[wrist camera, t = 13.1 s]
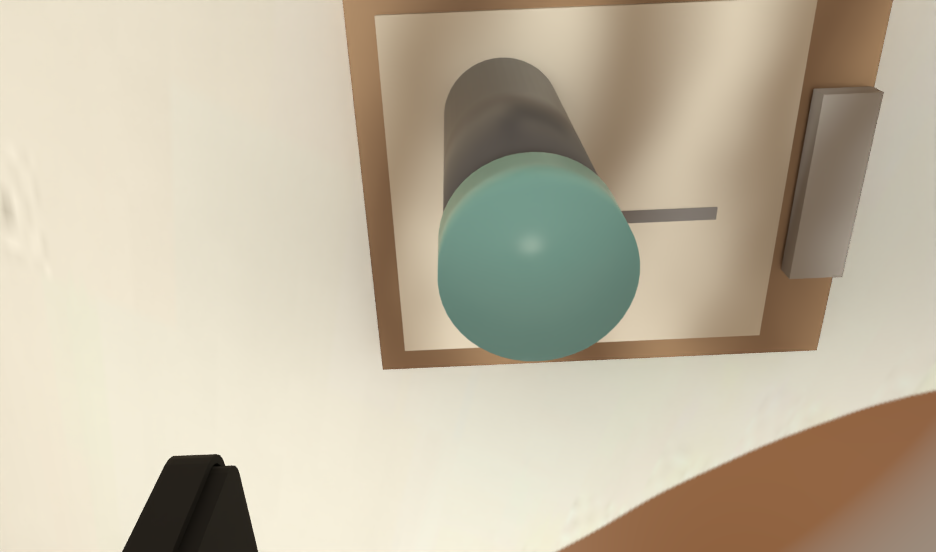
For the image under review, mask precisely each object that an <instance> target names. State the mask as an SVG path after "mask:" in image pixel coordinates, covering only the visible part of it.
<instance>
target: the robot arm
mask: <svg viewBox="0 0 936 552" xmlns="http://www.w3.org/2000/svg"><path fill="white" fill-rule="evenodd" d="M122 552H258V550H257V545H256V541H255V537H254V533H253V529H252V524H251V520H250V516H249V512H248V508H247V503H246V499H245V495H244V491H243V487H242V482H241V478H240V474H239V471H238V469H237V467H236V466H225V464H224V461H223V459H222V457H221V456H220V455H217V454H213V455H186V456H173V457H171V458H170V459H169V460H168V461H167V463H166V464H165V466H164V468H163V470H162V472H161V474H160V476H159V478H158V480H157V482H156V484H155V486H154V488H153V490H152V492H151V494H150V496H149V499H148V501H147V503H146V505H145V507H144V509H143V511H142V513H141V515H140V517H139V519H138V521H137V523H136V525H135V527H134V529H133V531H132V533H131V535H130V537H129V539H128V541H127V543H126V545H125V547H124V549H123V551H122Z"/></svg>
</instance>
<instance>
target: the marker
mask: <svg viewBox="0 0 936 552" xmlns="http://www.w3.org/2000/svg"><path fill="white" fill-rule="evenodd" d="M639 276H640V257H639V250H638V246H637V243H636V240H635V237H634V235H633V233H632V231H631V229H630V227H629V225H628V223H627V221H626V219H625V217H624V215H623V213H622V211H621V209H620V208H619V206H618V204H617V202H616V200H615V198H614V196H613V194H612V193H611V191H610V190H609V188H608V187H607V185H606V184H605V183H604V182H603V181H602V180H601V178H600V177H599V176H598V175H597V173H596V171H595V169H594V167H593V165H592V163H591V161H590V159H589V157H588V155H587V153H586V151H585V149H584V147H583V145H582V143H581V141H580V139H579V137H578V135H577V133H576V131H575V129H574V127H573V125H572V123H571V121H570V119H569V117H568V115H567V113H566V111H565V109H564V107H563V105H562V103H561V101H560V99H559V97H558V95H557V93H556V91H555V89H554V88H553V86H552V84H551V82H550V81H549V80H548V78H547V77H546V76H545V75H544V74H543V73H542V72H541V71H540V70H539V69H537V68H536V67H534V66H533V65H531V64H529V63H527V62H525V61H522V60H518V59H514V58H493V59H489V60H485V61H482V62H480V63H478V64H476V65H474V66H472V67H471V68H469V69H468V70H466V71H465V72H464V73H463V74H462V75H461V76H460V77H459V78H458V79H457V81H456V82H455V83H454V85H453V86H452V88H451V90H450V92H449V94H448V97H447V100H446V103H445V110H444V176H443V215H442V218H441V221H440V227H439V234H438V289H439V295H440V298H441V301H442V305H443V307H444V309H445V311H446V313H447V315H448V317H449V318H450V320H451V321H452V323H453V324H454V326H455V327H456V328H457V329H458V330H459V331H460V333H461V334H463V335H464V336H465V337H466V338H467V339H468V340H469V341H471V342H472V343H474V344H475V345H477V346H478V347H480V348H482V349H484V350H486V351H488V352H490V353H492V354H495V355H498V356H500V357H504V358H508V359H512V360H520V361H546V360H553V359H558V358H563V357H566V356H569V355H572V354H575V353H577V352H580V351H582V350H584V349H586V348H588V347H590V346H591V345H593V344H595V343H596V342H598V341H599V340H600V339H602V338H603V337H604V336H606V335H607V334H608V333H609V332H610V331H611V330H612V329H613V328H614V327H615V326H616V325H617V324H618V323H619V322H620V320H621V319H622V318H623V317H624V315H625V314H626V312H627V310H628V309H629V307H630V305H631V303H632V301H633V299H634V297H635V294H636V290H637V287H638V283H639Z"/></svg>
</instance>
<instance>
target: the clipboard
mask: <svg viewBox="0 0 936 552" xmlns="http://www.w3.org/2000/svg"><path fill="white" fill-rule="evenodd" d="M892 2H893V0H343V8H344V18H345V27H346V36H347V45H348V54H349V63H350V73H351V82H352V91H353V100H354V109H355V118H356V128H357V137H358V146H359V155H360V164H361V173H362V183H363V192H364V201H365V210H366V219H367V228H368V237H369V247H370V256H371V265H372V274H373V283H374V292H375V302H376V311H377V320H378V329H379V338H380V347H381V357H382V366H383V369H406V368H428V367H450V366H473V365H495V364H518V363H540V362H563V361H585V360H607V359H630V358H652V357H675V356H697V355H720V354H742V353H764V352H787V351H809V350H817V346H818V341H819V337H820V332H821V328H822V323H823V319H824V314H825V309H826V305H827V300H828V296H829V291H830V286H831V282H832V277H842V275H843V271H844V266H845V262H846V257H847V253H848V248H849V244H850V239H851V235H852V231H853V226H854V222H855V217H856V213H857V208H858V204H859V199H860V195H861V191H862V186H863V182H864V177H865V173H866V168H867V164H868V159H869V155H870V151H871V146H872V142H873V137H874V133H875V128H876V124H877V119H878V115H879V111H880V106H881V102H882V97H883V93H884V92H882V91H880V90H878V89H876V88H874V85H875V80H876V76H877V71H878V66H879V62H880V57H881V53H882V48H883V44H884V39H885V34H886V30H887V25H888V21H889V16H890V11H891V7H892ZM493 58H514V59H518V60H522V61H525V62H527V63H529V64H531V65H533V66H534V67H536V68H537V69H539V70H540V71H541V72H542V73H543V74H544V75H545V76H546V77H547V78H548V80H549V81H550V82H551V84H552V86H553V88H554V89H555V91H556V93H557V95H558V97H559V99H560V101H561V103H562V105H563V107H564V109H565V111H566V113H567V115H568V117H569V119H570V121H571V123H572V125H573V127H574V129H575V131H576V133H577V135H578V137H579V139H580V141H581V143H582V145H583V147H584V149H585V151H586V153H587V155H588V157H589V159H590V161H591V163H592V165H593V167H594V169H595V171H596V173H597V175H598V176H599V177H600V178H601V180H602V181H603V182H604V183H605V184H606V185H607V187H608V188H609V190H610V191H611V193H612V194H613V196H614V198H615V200H616V202H617V204H618V206H619V208H620V209H621V211H622V213H623V215H624V217H625V219H626V221H627V223H628V225H629V227H630V229H631V231H632V233H633V235H634V237H635V240H636V243H637V246H638V250H639V257H640V276H639V283H638V287H637V290H636V294H635V297H634V299H633V301H632V303H631V305H630V307H629V309H628V310H627V312H626V314H625V315H624V317H623V318H622V319H621V320H620V322H619V323H618V324H617V325H616V326H615V327H614V328H613V329H612V330H611V331H610V332H609V333H608V334H607V335H606V336H604V337H603V338H602V339H600V340H599V341H598V342H596V343H595V344H593V345H591V346H590V347H588V348H586V349H584V350H582V351H580V352H577V353H575V354H572V355H569V356H566V357H563V358H558V359H553V360H546V361H520V360H512V359H508V358H504V357H500V356H498V355H495V354H492V353H490V352H488V351H486V350H484V349H482V348H480V347H478V346H477V345H475V344H474V343H472V342H471V341H469V340H468V339H467V338H466V337H465V336H464V335H463V334H461V333H460V331H459V330H458V329H457V328H456V327H455V326H454V324H453V323H452V321H451V320H450V318H449V317H448V315H447V313H446V311H445V309H444V307H443V305H442V301H441V298H440V295H439V289H438V234H439V227H440V221H441V218H442V215H443V176H444V110H445V103H446V100H447V97H448V94H449V92H450V90H451V88H452V86H453V85H454V83H455V82H456V81H457V79H458V78H459V77H460V76H461V75H462V74H463V73H464V72H465V71H466V70H468V69H469V68H471V67H472V66H474V65H476V64H478V63H480V62H482V61H485V60H489V59H493Z"/></svg>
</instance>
